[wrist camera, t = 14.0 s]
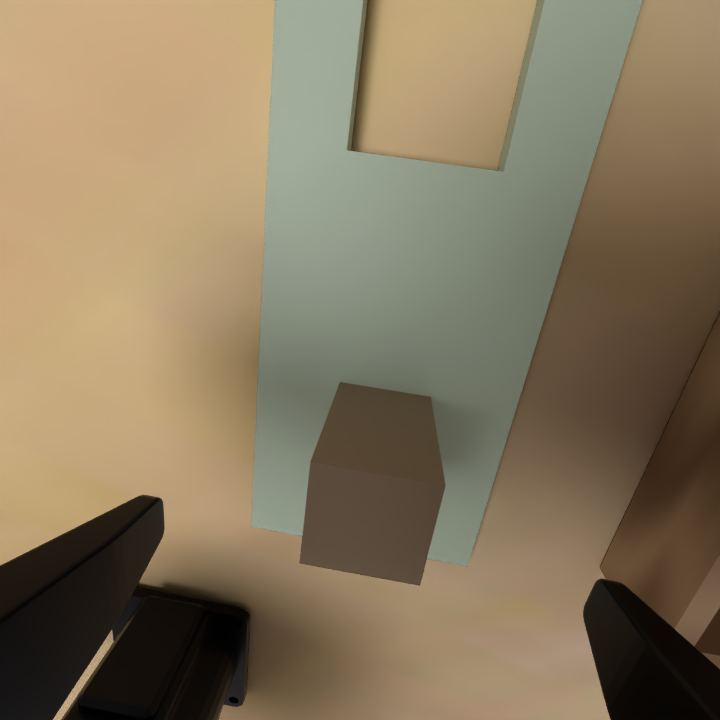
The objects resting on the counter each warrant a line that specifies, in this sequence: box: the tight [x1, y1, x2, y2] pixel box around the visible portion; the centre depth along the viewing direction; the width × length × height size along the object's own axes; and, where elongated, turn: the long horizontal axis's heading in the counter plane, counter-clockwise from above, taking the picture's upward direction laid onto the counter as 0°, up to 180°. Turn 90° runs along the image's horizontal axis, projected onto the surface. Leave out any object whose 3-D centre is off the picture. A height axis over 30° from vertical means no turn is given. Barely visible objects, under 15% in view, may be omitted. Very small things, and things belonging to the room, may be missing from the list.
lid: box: [251, 0, 643, 586], centre depth 10 cm, size 19×8×5 cm, turn 172°
